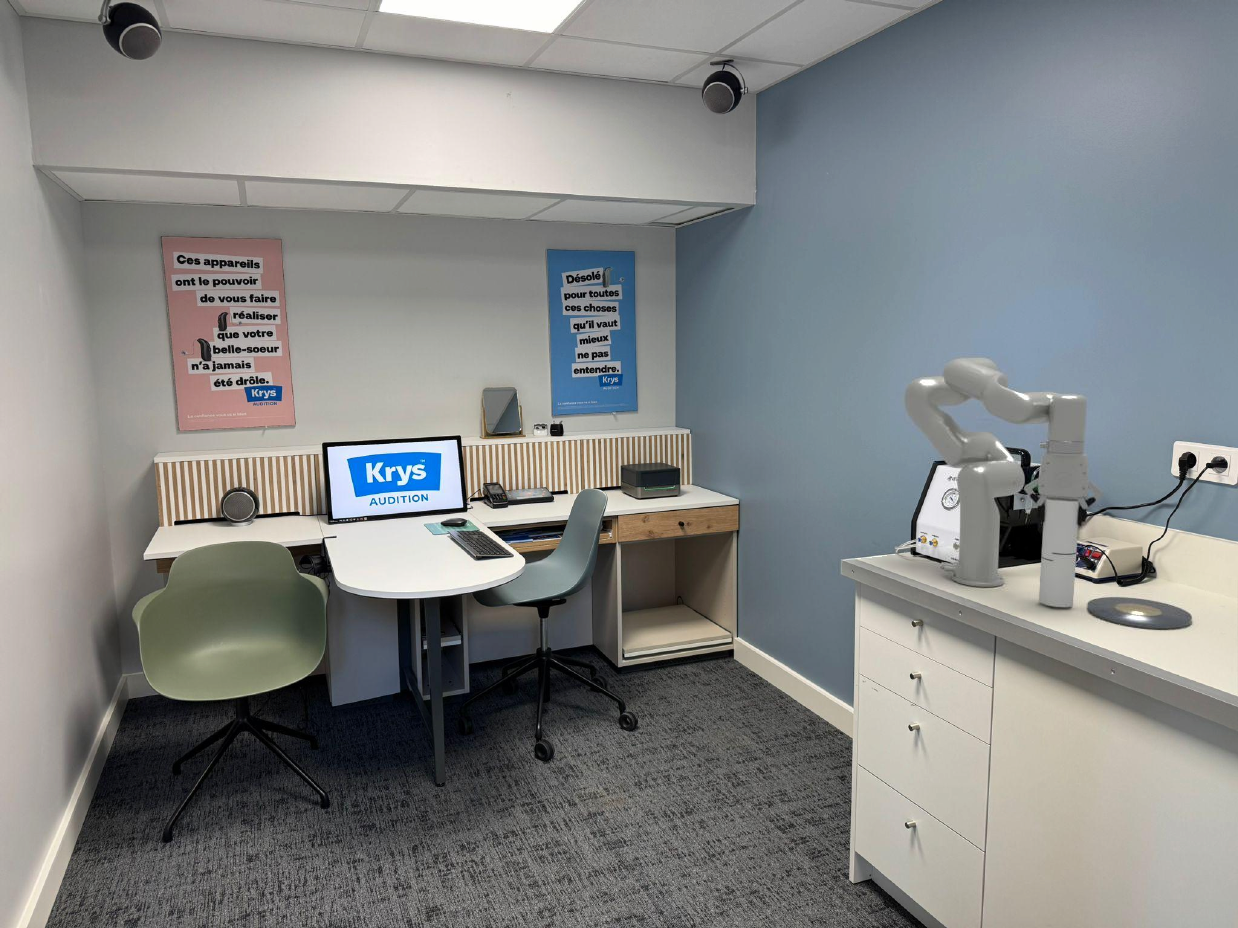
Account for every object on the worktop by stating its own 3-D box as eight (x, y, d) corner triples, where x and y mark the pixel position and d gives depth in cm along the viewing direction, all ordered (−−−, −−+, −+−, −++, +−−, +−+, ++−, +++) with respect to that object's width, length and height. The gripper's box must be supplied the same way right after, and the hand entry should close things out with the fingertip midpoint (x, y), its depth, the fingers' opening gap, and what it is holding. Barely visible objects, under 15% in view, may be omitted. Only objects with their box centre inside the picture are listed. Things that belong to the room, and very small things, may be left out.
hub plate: (1087, 621, 181) (1087, 616, 181) (1086, 597, 198) (1086, 592, 198) (1196, 634, 171) (1197, 628, 171) (1186, 608, 189) (1186, 603, 188)
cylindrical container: (1070, 608, 188) (1077, 502, 185) (1036, 603, 192) (1042, 499, 189) (1075, 601, 194) (1082, 497, 190) (1042, 595, 198) (1048, 495, 195)
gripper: (1022, 448, 189) (1018, 522, 191) (1109, 451, 180) (1104, 529, 183) (1024, 444, 195) (1020, 516, 198) (1108, 447, 187) (1103, 523, 189)
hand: (1060, 522), depth 190 cm, fingers closed on cylindrical container, 7 cm apart
